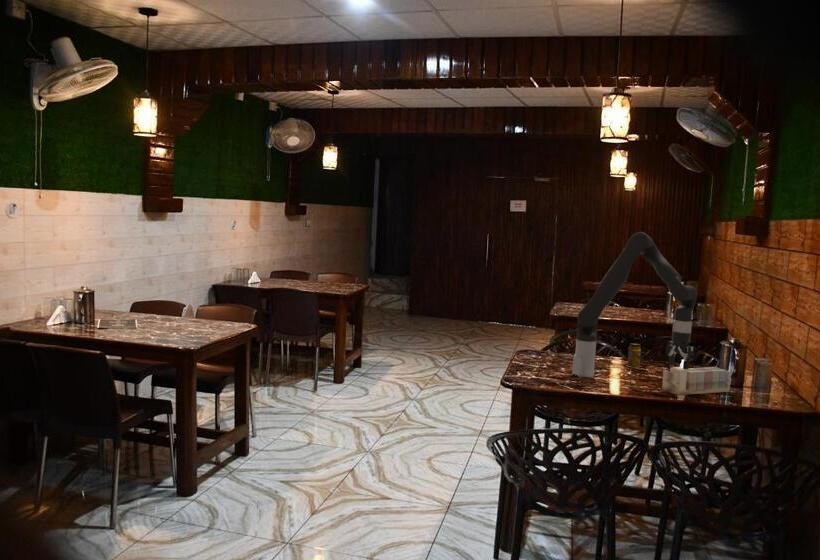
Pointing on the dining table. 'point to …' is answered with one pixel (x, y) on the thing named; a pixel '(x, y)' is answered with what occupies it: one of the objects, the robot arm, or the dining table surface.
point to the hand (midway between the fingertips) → (678, 367)
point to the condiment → (634, 355)
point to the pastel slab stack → (698, 381)
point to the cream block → (682, 376)
